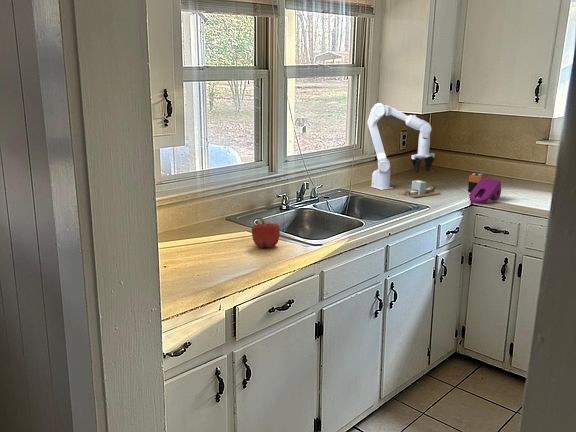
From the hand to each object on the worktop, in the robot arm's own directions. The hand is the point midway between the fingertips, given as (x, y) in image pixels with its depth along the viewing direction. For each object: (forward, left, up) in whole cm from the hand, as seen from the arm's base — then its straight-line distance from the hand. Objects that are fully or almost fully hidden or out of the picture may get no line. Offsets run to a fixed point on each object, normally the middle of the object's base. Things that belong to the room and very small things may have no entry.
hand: (421, 171), depth 304 cm
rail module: (+7, -9, -9) cm, 15 cm away
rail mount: (+7, -8, -9) cm, 14 cm away
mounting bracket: (+32, +10, -10) cm, 35 cm away
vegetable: (+39, -118, -10) cm, 125 cm away
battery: (+19, +20, -10) cm, 29 cm away
